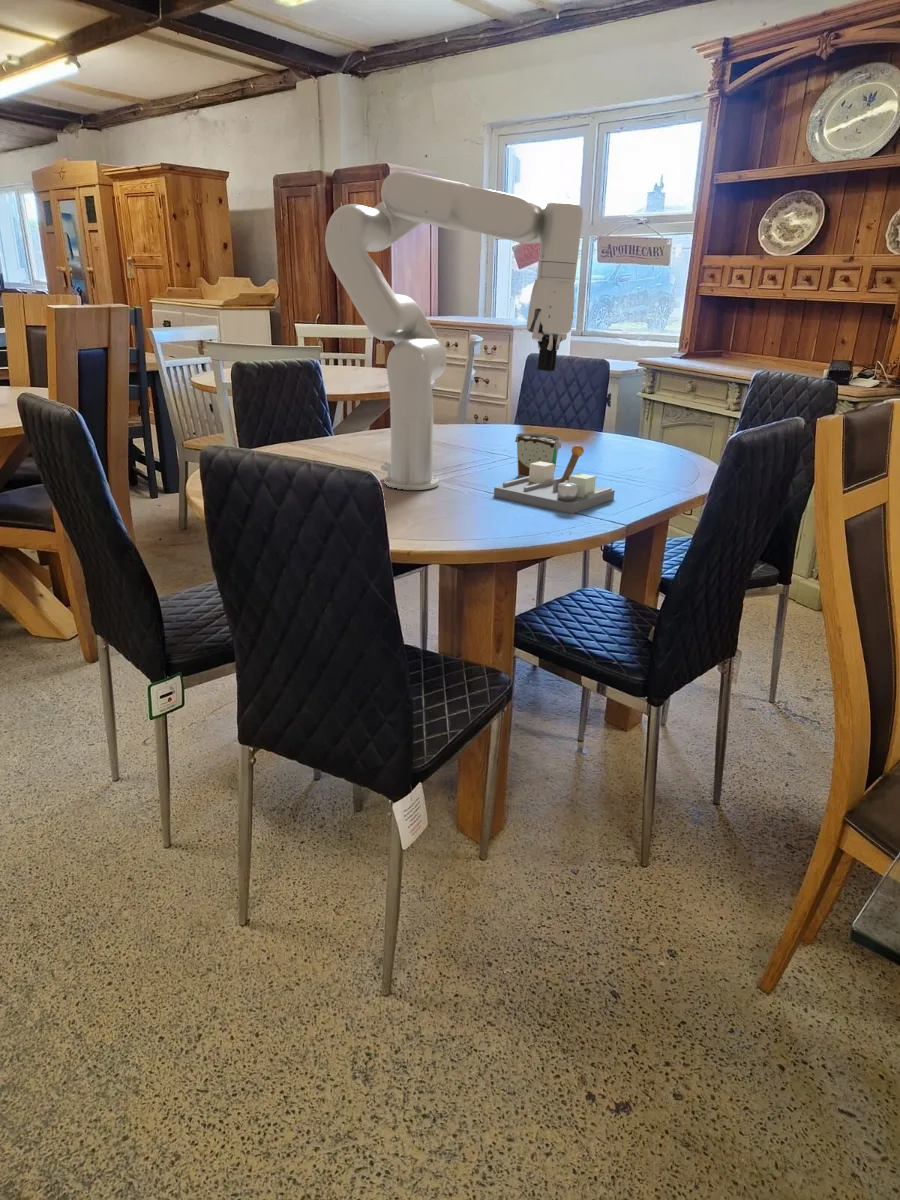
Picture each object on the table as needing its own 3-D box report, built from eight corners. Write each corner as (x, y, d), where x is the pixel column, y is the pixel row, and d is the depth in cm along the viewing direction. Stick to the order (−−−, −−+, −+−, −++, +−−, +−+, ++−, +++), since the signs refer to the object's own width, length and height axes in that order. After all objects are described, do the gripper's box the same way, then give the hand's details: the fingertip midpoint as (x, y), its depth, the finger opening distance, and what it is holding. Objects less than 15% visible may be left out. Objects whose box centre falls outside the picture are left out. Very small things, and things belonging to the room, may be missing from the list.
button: (553, 499, 157) (554, 484, 156) (564, 495, 160) (565, 481, 159) (570, 502, 154) (571, 488, 153) (580, 499, 157) (581, 484, 156)
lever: (554, 484, 164) (572, 441, 165) (559, 489, 166) (577, 447, 167) (564, 486, 162) (582, 443, 163) (569, 491, 164) (587, 449, 165)
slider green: (567, 494, 161) (569, 475, 159) (577, 491, 164) (579, 473, 162) (584, 497, 158) (585, 478, 157) (594, 494, 161) (595, 476, 160)
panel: (493, 496, 166) (494, 476, 165) (538, 484, 178) (539, 465, 177) (572, 513, 154) (574, 492, 152) (614, 499, 166) (616, 479, 165)
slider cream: (528, 481, 171) (529, 463, 170) (538, 478, 174) (540, 461, 173) (543, 484, 169) (544, 466, 168) (553, 481, 172) (554, 463, 170)
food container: (568, 479, 184) (572, 437, 180) (553, 483, 180) (557, 440, 176) (528, 471, 192) (531, 430, 188) (513, 474, 187) (515, 433, 184)
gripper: (561, 274, 157) (551, 367, 164) (518, 270, 146) (509, 369, 153) (592, 276, 152) (581, 371, 159) (551, 271, 142) (540, 373, 149)
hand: (546, 370), depth 156 cm, fingers closed
